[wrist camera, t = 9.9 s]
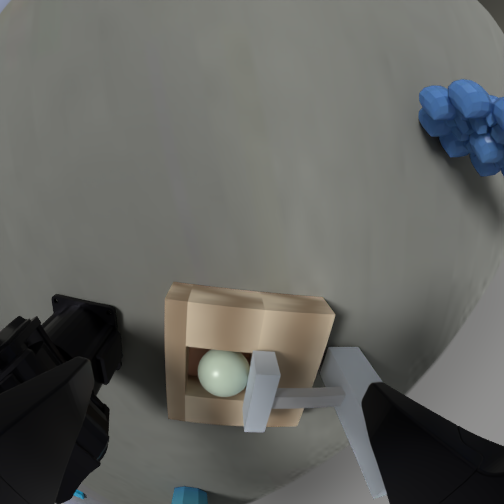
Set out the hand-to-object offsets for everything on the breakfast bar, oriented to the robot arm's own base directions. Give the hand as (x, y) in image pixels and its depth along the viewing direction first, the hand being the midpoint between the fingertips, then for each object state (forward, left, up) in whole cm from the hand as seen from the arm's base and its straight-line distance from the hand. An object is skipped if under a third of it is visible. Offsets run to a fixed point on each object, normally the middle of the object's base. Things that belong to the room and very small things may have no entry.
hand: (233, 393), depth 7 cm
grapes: (+17, +14, -13) cm, 26 cm away
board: (+2, -8, -13) cm, 15 cm away
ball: (0, -8, -11) cm, 13 cm away
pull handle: (+7, -8, -13) cm, 17 cm away
